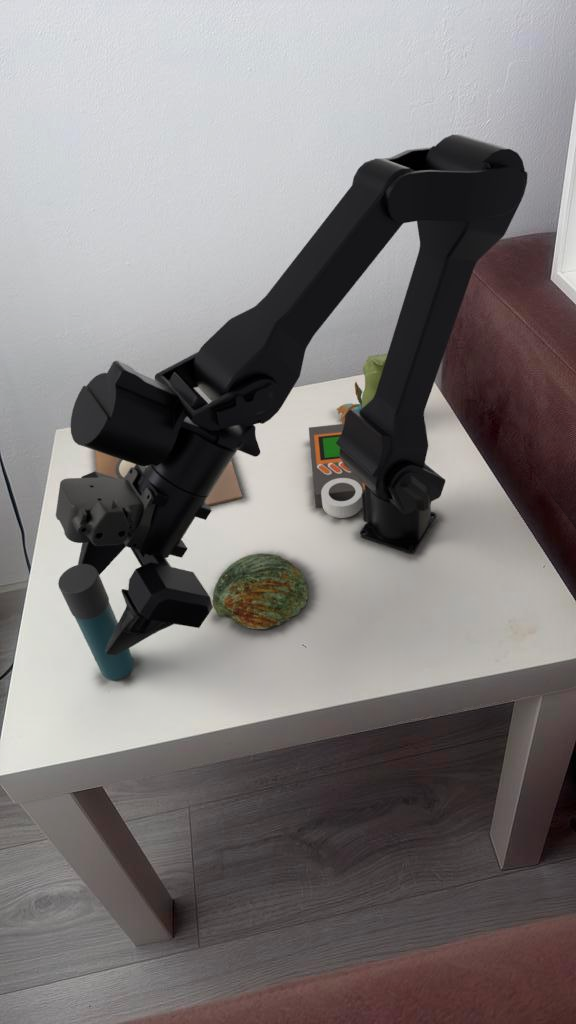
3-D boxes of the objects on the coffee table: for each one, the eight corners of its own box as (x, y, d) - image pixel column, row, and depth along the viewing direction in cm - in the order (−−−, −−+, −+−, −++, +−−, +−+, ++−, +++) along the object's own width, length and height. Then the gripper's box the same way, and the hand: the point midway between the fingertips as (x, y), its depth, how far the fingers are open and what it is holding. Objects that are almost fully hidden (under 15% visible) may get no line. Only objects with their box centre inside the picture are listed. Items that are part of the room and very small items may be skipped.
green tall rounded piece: (366, 438, 94) (363, 370, 87) (359, 415, 98) (355, 348, 91) (409, 432, 94) (409, 363, 87) (401, 408, 98) (400, 341, 91)
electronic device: (315, 507, 82) (308, 423, 92) (317, 525, 84) (310, 441, 94) (376, 501, 81) (361, 417, 92) (376, 519, 83) (362, 435, 94)
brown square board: (219, 420, 101) (218, 418, 100) (242, 497, 88) (241, 494, 88) (95, 449, 99) (94, 446, 99) (101, 532, 86) (100, 529, 86)
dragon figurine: (397, 438, 91) (388, 384, 94) (343, 432, 89) (335, 377, 92) (375, 463, 97) (367, 412, 100) (323, 458, 94) (317, 406, 98)
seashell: (318, 577, 71) (222, 617, 69) (323, 607, 74) (231, 646, 72) (280, 522, 79) (192, 556, 77) (286, 551, 81) (201, 584, 79)
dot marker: (143, 662, 72) (106, 571, 63) (120, 689, 70) (78, 598, 61) (117, 649, 73) (77, 559, 64) (94, 675, 71) (49, 585, 62)
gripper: (63, 396, 63) (-16, 541, 67) (140, 515, 50) (37, 685, 54) (167, 436, 71) (91, 564, 75) (257, 548, 58) (160, 695, 62)
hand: (93, 619), depth 66 cm, fingers open, 9 cm apart
